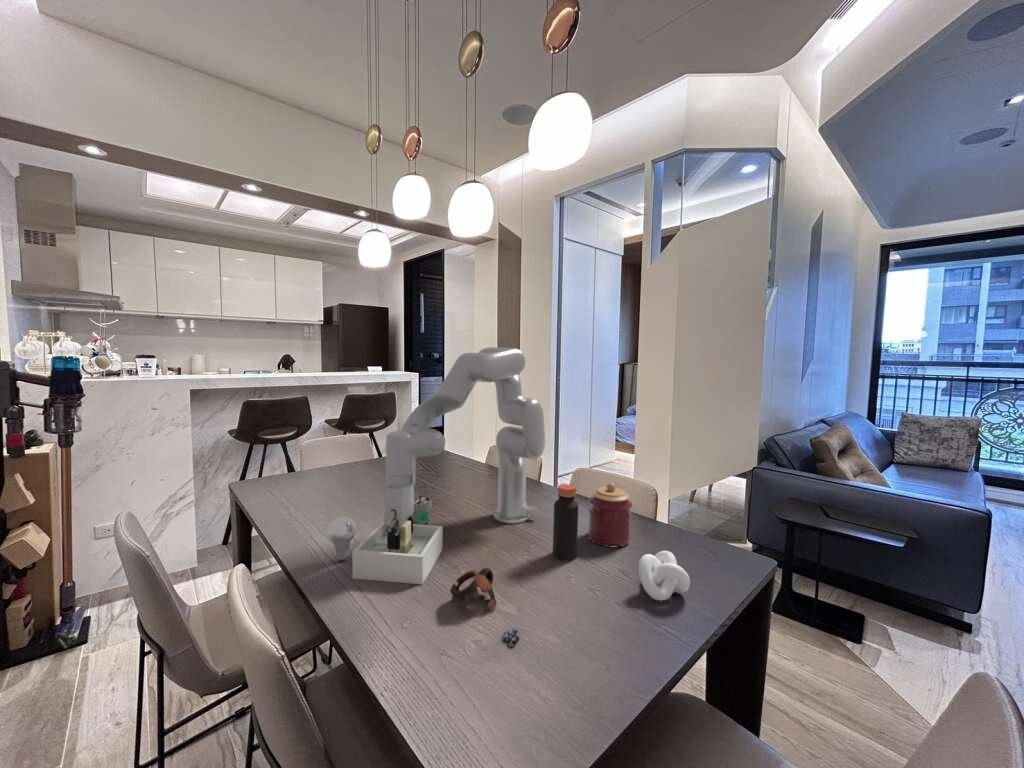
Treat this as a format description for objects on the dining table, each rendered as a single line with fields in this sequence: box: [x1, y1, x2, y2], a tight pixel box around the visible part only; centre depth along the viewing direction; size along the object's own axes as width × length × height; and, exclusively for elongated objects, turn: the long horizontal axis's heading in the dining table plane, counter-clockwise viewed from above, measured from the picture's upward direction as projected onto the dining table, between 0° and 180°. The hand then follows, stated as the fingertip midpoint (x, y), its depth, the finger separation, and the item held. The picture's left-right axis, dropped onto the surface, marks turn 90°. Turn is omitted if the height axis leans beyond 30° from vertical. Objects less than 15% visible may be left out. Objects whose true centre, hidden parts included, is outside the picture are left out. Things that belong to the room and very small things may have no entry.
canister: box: [587, 482, 633, 546], centre depth 129 cm, size 13×13×18 cm
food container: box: [411, 493, 433, 525], centre depth 132 cm, size 12×6×10 cm, turn 168°
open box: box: [351, 521, 444, 585], centre depth 112 cm, size 18×18×7 cm
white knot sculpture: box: [638, 550, 691, 602], centre depth 102 cm, size 11×12×9 cm
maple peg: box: [391, 521, 411, 554], centre depth 112 cm, size 4×4×10 cm
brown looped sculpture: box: [450, 567, 497, 614], centre depth 96 cm, size 12×10×8 cm
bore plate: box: [369, 534, 432, 555], centre depth 112 cm, size 16×16×3 cm
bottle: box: [552, 483, 579, 561], centre depth 118 cm, size 7×7×20 cm
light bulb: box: [327, 516, 357, 562], centre depth 113 cm, size 7×7×12 cm
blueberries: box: [502, 627, 528, 649], centre depth 84 cm, size 7×8×2 cm
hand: (400, 540), depth 112 cm, fingers open, 9 cm apart
